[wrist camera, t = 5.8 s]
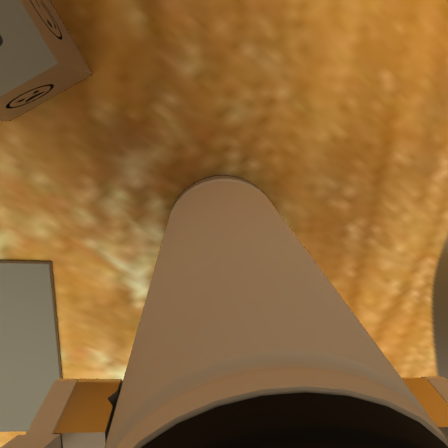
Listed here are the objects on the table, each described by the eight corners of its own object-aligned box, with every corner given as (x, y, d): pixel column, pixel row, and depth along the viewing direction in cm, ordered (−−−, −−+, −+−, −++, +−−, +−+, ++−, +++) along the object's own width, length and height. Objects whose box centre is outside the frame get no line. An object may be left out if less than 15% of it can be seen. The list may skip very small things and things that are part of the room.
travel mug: (140, 229, 22) (-294, 1132, 3) (226, 150, 21) (550, 687, 2) (214, 300, 23) (280, 1179, 4) (297, 230, 22) (882, 975, 3)
